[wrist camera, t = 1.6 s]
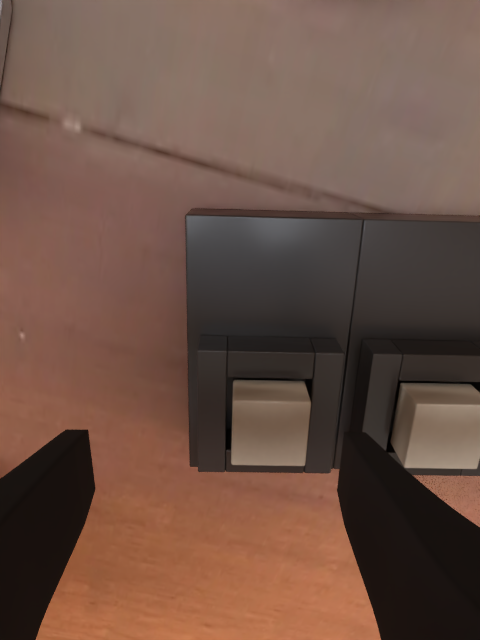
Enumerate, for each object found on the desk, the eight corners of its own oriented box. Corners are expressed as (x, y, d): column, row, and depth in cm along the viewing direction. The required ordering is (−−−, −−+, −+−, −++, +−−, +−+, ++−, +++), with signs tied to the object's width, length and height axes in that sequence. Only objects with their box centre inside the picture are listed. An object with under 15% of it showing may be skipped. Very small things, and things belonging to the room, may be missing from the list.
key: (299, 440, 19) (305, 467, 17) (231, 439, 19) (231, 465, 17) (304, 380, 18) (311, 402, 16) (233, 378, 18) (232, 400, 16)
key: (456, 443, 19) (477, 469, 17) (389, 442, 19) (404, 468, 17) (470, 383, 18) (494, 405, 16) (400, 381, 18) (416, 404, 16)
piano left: (323, 439, 23) (340, 493, 19) (194, 437, 23) (186, 491, 19) (349, 212, 19) (376, 224, 15) (191, 208, 19) (180, 219, 15)
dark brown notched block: (451, 441, 23) (493, 495, 20) (323, 439, 23) (340, 493, 19) (504, 216, 19) (570, 229, 15) (349, 212, 19) (376, 224, 15)
